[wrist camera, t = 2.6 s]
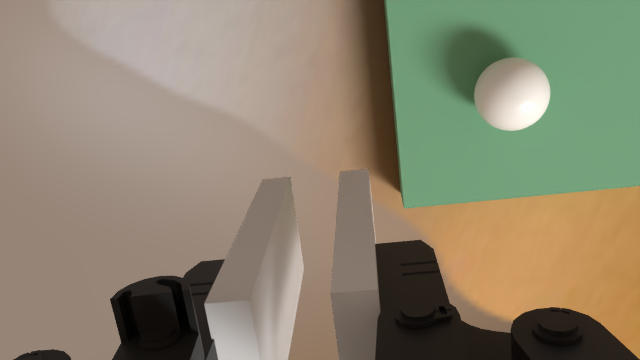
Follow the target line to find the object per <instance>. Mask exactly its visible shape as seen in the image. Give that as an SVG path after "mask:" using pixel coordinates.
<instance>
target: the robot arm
mask: <svg viewBox="0 0 640 360" xmlns="http://www.w3.org/2000/svg"><path fill="white" fill-rule="evenodd" d="M303 271H304V266H303V259H302V253H301V246H300V239H299V232H298V225H297V218H296V211H295V204H294V197H293V191H292V184H291V177H283V178H274V179H263V180H262V182H261V184H260V186H259V188H258V190H257V192H256V195H255V197H254V199H253V201H252V203H251V205H250V207H249V210H248V212H247V214H246V216H245V218H244V220H243V222H242V225H241V226H240V229H239V231H238V233H237V235H236V237H235V239H234V241H233V244H232V246H231V248H230V250H229V252H228V254H227V257H226V259H224V260H213V261H202V262H200V263H199V264H197V265H196V266H195V267H193V268H192V269H191V270H189V271H188V272H187V273H186V274H185V275H184V277H183V278H181V277H176V276H158V277H153V278H148V279H144V280H141V281H138V282H136V283H133V284H130V285H128V286H127V287H125V288H123V289H121V290H120V291H118V292H117V293H116V294H115V295H114V296H113V297H112V298H111V299H110V300H111V304H112V308H113V312H114V316H115V320H116V324H117V327H118V331H119V335H120V339H121V344H120V346H119V348H118V350H117V352H116V354H115V355H114V357H113V359H112V360H288V355H289V350H290V344H291V339H292V333H293V327H294V322H295V316H296V310H297V304H298V299H299V294H300V288H301V282H302V276H303ZM331 300H332V307H333V315H334V322H335V329H336V338H337V345H338V353H339V359H340V360H639V359H638V358H637V357H636V356H635V355H634V354H633V353H632V352H631V351H630V350H629V349H628V348H626V347H625V346H624V345H623V344H622V343H621V342H620V341H619V340H618V339H617V338H616V337H615V336H613V335H612V334H611V333H610V332H609V331H608V330H607V329H606V328H605V327H604V326H603V325H602V324H600V323H599V322H597V321H596V320H594V319H593V318H591V317H590V316H588V315H585V314H582V313H579V312H576V311H573V310H570V309H565V308H562V309H560V308H554V307H551V308H543V309H535V310H532V311H529V312H525V313H523V314H521V315H520V316H519V317H517V318H516V319H515V320H514V321H513V324H512V327H511V333H505V332H496V331H490V330H485V329H480V328H477V327H474V326H471V325H469V324H467V323H465V322H463V321H461V318H460V314H459V313H458V311H457V309H456V307H454V306H453V305H451V304H450V303H449V299H448V296H447V293H446V290H445V286H444V283H443V279H442V276H441V273H440V269H439V266H438V263H437V259H436V256H435V253H434V249H433V248H431V247H430V246H429V245H427V244H426V243H424V242H423V241H421V240H414V241H403V242H392V243H381V244H376V237H375V227H374V218H373V207H372V198H371V188H370V178H369V169H361V170H351V171H341V172H340V177H339V191H338V203H337V217H336V230H335V243H334V256H333V269H332V282H331ZM14 360H71V358H70V356H69V355H68V354H66V353H65V352H64V351H59V350H54V349H53V350H42V351H41V350H38V351H33V352H31V353H26V354H23V355H20V356H19V357H18V358H16V359H14Z"/></svg>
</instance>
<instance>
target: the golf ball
mask: <svg viewBox="0 0 640 360" xmlns="http://www.w3.org/2000/svg"><path fill="white" fill-rule="evenodd" d="M549 100H550V85H549V81H548V79H547V77H546V75H545V73H544V72H543V70H542V69H541V68H540V67H539V66H537V65H536V64H535V63H533V62H531V61H529V60H526V59H523V58H516V57H511V58H504V59H501V60H499V61H496V62H494V63H493V64H491V65H490V66H488V67H487V68H486V69H485V70H484V71H483V72H482V74H481V75H480V77H479V78H478V80H477V83H476V86H475V91H474V101H475V106H476V108H477V111H478V112H479V114H480V116H481V117H482V118H483V119H484V120H485V121H486V122H487V123H488V124H490V125H491V126H493V127H495V128H497V129H501V130H506V131H516V130H521V129H524V128H526V127H529V126H530V125H532V124H534V123H535V122H536V121H538V120H539V119H540V118H541V116H542V115H543V114H544V112H545V111H546V109H547V107H548V104H549Z"/></svg>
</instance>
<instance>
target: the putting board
mask: <svg viewBox="0 0 640 360" xmlns="http://www.w3.org/2000/svg"><path fill="white" fill-rule="evenodd" d="M384 8H385V19H386V31H387V42H388V53H389V65H390V76H391V88H392V99H393V111H394V122H395V133H396V145H397V156H398V168H399V179H400V190H401V197H402V201H403V206H404V208H414V207H425V206H435V205H446V204H456V203H466V202H477V201H487V200H498V199H508V198H519V197H529V196H540V195H550V194H560V193H571V192H581V191H592V190H602V189H613V188H623V187H634V186H640V0H384ZM511 57H516V58H523V59H526V60H529V61H531V62H533V63H535V64H536V65H537V66H539V67H540V68H541V69H542V70H543V72H544V73H545V75H546V77H547V79H548V81H549V85H550V100H549V104H548V107H547V109H546V111H545V112H544V114H543V115H542V116H541V118H540V119H539V120H538V121H536V122H535V123H534V124H532V125H530V126H529V127H526V128H524V129H521V130H516V131H506V130H501V129H497V128H495V127H493V126H491V125H490V124H488V123H487V122H486V121H485V120H484V119H483V118H482V117H481V116H480V114H479V112H478V111H477V108H476V106H475V101H474V91H475V86H476V83H477V80H478V78H479V77H480V75H481V74H482V72H483V71H484V70H485V69H486V68H487V67H488V66H490V65H491V64H493V63H494V62H496V61H499V60H501V59H504V58H511Z"/></svg>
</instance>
